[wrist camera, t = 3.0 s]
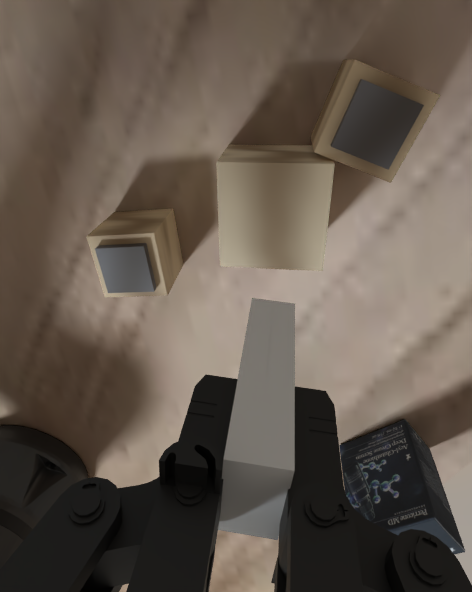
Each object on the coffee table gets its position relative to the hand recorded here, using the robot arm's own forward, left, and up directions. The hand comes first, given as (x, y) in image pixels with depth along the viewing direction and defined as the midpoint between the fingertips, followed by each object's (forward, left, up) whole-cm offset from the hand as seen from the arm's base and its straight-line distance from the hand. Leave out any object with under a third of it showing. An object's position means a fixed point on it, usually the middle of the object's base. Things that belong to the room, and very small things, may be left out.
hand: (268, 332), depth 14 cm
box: (+15, -26, -19) cm, 35 cm away
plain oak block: (0, 0, -19) cm, 19 cm away
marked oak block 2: (-10, -5, -19) cm, 22 cm away
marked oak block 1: (+5, +6, -19) cm, 20 cm away
